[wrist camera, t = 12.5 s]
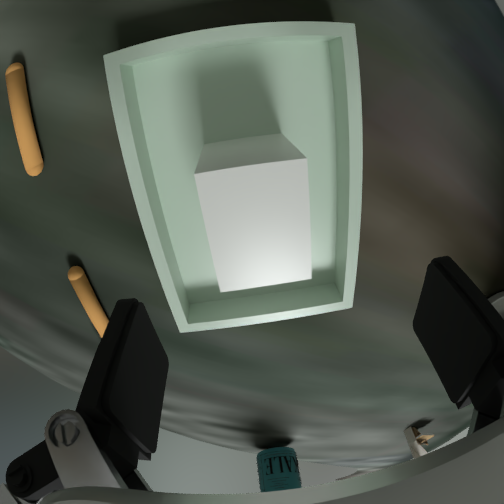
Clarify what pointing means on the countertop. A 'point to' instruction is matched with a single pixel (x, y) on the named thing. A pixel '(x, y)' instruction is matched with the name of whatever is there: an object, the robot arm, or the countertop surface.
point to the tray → (234, 127)
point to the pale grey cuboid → (256, 211)
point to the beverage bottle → (278, 469)
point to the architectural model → (416, 441)
